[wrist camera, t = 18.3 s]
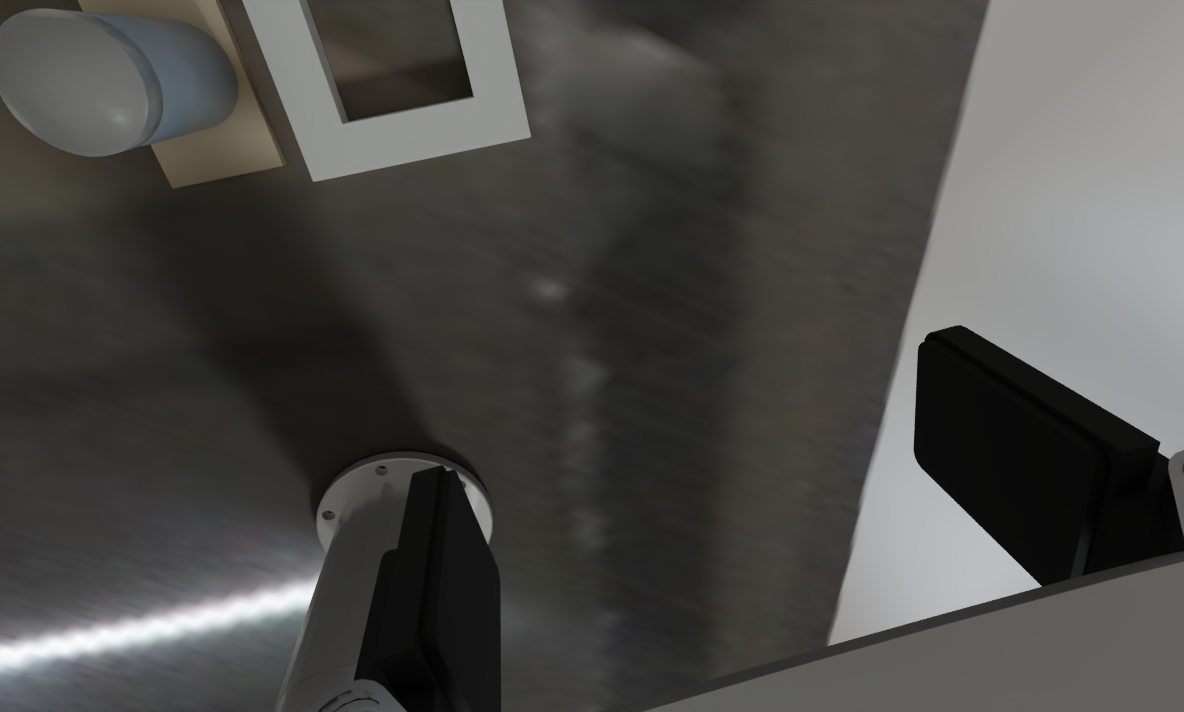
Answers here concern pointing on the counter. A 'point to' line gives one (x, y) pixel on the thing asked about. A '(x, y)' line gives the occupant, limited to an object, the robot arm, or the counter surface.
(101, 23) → the cylinder
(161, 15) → the pad
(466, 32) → the dock
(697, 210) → the counter surface
